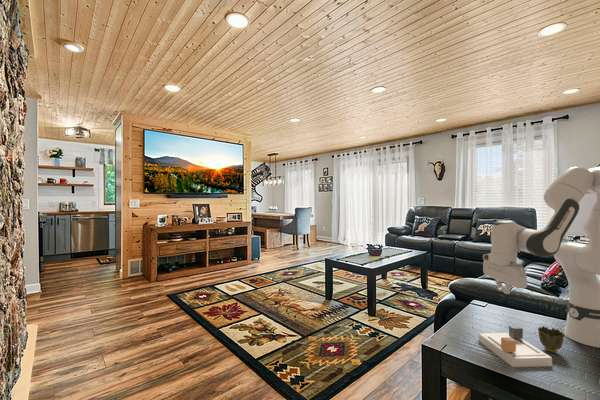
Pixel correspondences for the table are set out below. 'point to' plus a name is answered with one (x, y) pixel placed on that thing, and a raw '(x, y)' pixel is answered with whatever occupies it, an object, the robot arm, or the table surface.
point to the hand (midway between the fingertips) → (503, 292)
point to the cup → (551, 339)
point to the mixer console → (524, 351)
